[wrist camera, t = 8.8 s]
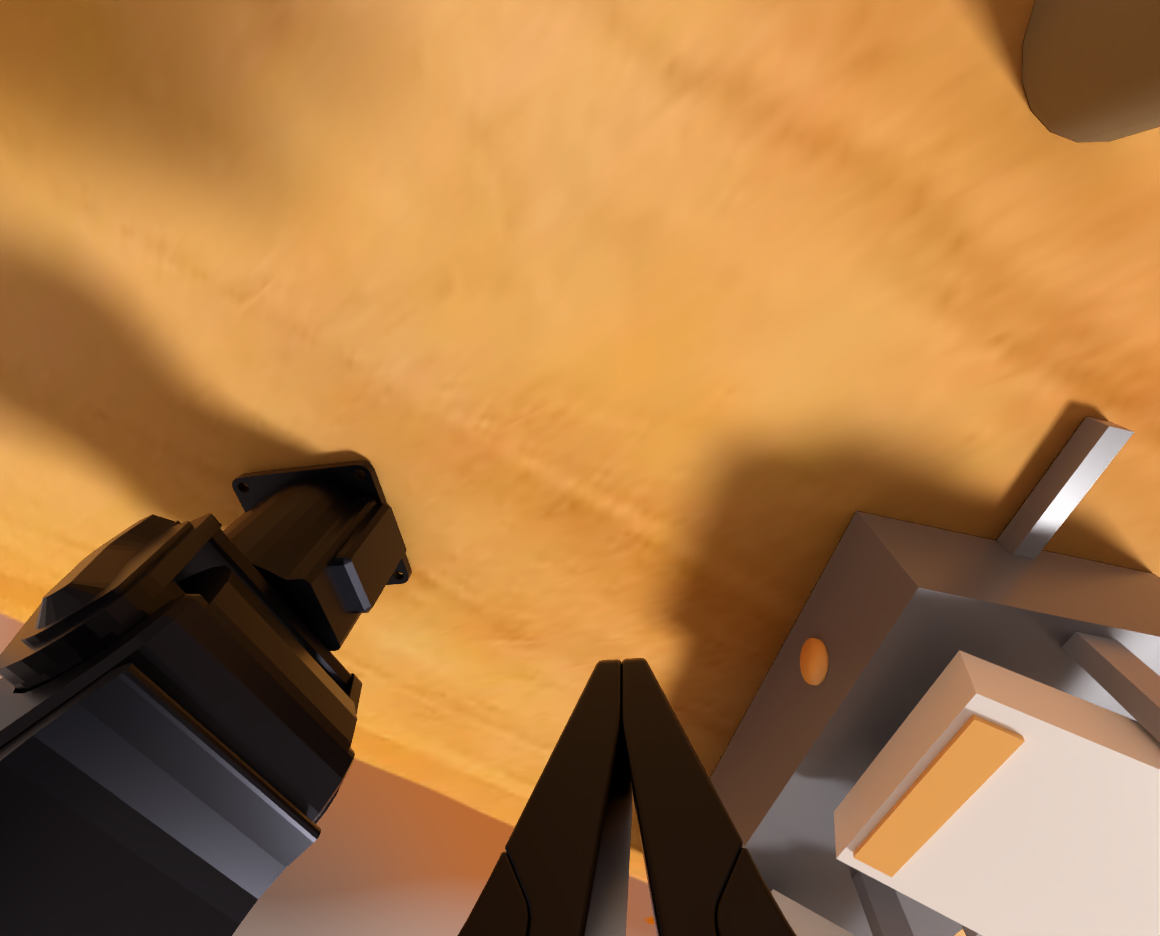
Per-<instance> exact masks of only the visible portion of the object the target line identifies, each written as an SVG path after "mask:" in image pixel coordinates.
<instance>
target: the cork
mask: <svg viewBox="0 0 1160 936" xmlns="http://www.w3.org/2000/svg"><path fill="white" fill-rule="evenodd" d="M1022 83H1023V86H1024V89H1025V92H1026V95H1027V99H1028V102H1029V105H1030V108H1031V111H1032V112H1033V113H1034V114H1035V116H1036V117H1037V118H1038V119H1039V120H1040V121H1041V122H1042V123H1043V124H1044V125H1045V127H1046V128H1047V129H1048V130H1049V131H1050V132H1052V133H1054V134H1057V135H1059V136H1062V137H1064V138H1067V139H1070V140H1072V141H1075V142H1109V141H1113V140H1116V139H1120V138H1123V137H1126V136H1130V135H1133V134H1137V133H1140V132H1143V131H1147V130H1150V129H1154V128H1157V127H1160V0H1036V1H1035V4H1034V7H1033V11H1032V14H1031V18H1030V21H1029V24H1028V28H1027V31H1026V34H1025V38H1024V41H1023V60H1022Z"/></svg>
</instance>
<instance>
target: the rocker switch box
mask: <svg viewBox="0 0 1160 936" xmlns="http://www.w3.org/2000/svg"><path fill="white" fill-rule="evenodd" d="M1133 433H1134V432H1133V431H1131V430H1128V429H1126V428H1124V427H1121V426H1119V425H1117V424H1114V423H1112V422H1109V421H1104V420H1100V419H1095V418H1091V417H1087V416H1086V418H1085V419H1084V421H1083V422H1082V423H1081V425H1080V426H1079V427H1078V429H1077V430H1076V432H1075V433H1074V434H1073V436H1072V437H1071V439H1070V440H1069V441H1068V443H1067V444H1066V445H1065V447H1064V448H1063V450H1062V451H1061V452H1060V454H1059V455H1058V456H1057V458H1056V459H1055V461H1054V462H1053V463H1052V465H1051V466H1050V468H1049V469H1048V470H1047V472H1046V473H1045V474H1044V476H1043V477H1042V479H1041V480H1040V481H1039V483H1038V484H1037V485H1036V487H1035V488H1034V490H1033V491H1032V492H1031V494H1030V495H1029V497H1028V498H1027V499H1026V501H1025V502H1024V503H1023V505H1022V506H1021V508H1020V509H1019V510H1018V512H1017V513H1016V514H1015V516H1014V517H1013V519H1012V520H1011V521H1010V523H1009V524H1008V526H1007V527H1006V528H1005V530H1004V531H1003V532H1002V534H1001V535H1000V537H999V538H998V539H997V541H996V540H991V539H987V538H982V537H977V536H972V535H968V534H963V533H958V532H954V531H949V530H944V529H939V528H935V527H930V526H925V525H920V524H916V523H911V522H906V521H901V520H897V519H892V518H887V517H882V516H878V515H873V514H868V513H863V512H859V511H856V513H855V514H854V516H853V518H852V520H851V522H850V523H849V525H848V527H847V529H846V531H845V533H844V534H843V536H842V538H841V540H840V542H839V544H838V545H837V547H836V549H835V551H834V553H833V555H832V556H831V558H830V560H829V562H828V564H827V566H826V567H825V569H824V571H823V573H822V575H821V576H820V578H819V580H818V582H817V584H816V586H815V587H814V589H813V591H812V593H811V595H810V597H809V598H808V600H807V602H806V604H805V606H804V608H803V609H802V611H801V613H800V615H799V617H798V618H797V620H796V622H795V624H794V626H793V628H792V629H791V631H790V633H789V635H788V637H787V639H786V640H785V642H784V644H783V646H782V648H781V650H780V651H779V653H778V655H777V657H776V659H775V661H774V662H773V664H772V666H771V668H770V670H769V671H768V673H767V675H766V677H765V679H764V681H763V682H762V684H761V686H760V688H759V690H758V692H757V693H756V695H755V697H754V699H753V701H752V703H751V704H750V706H749V708H748V710H747V712H746V713H745V715H744V717H743V719H742V721H741V723H740V724H739V726H738V728H737V730H736V732H735V734H734V735H733V737H732V739H731V741H730V743H729V745H728V746H727V748H726V750H725V752H724V754H723V756H722V757H721V759H720V761H719V763H718V765H717V766H716V768H715V770H714V772H713V774H712V776H711V777H710V781H711V782H712V784H713V786H714V788H715V790H716V792H717V794H718V796H719V797H720V799H721V801H722V803H723V805H724V807H725V809H726V810H727V812H728V814H729V816H730V818H731V820H732V822H733V824H734V825H735V827H736V829H737V831H738V833H739V835H740V837H741V839H742V840H743V843H744V848H747V849H748V851H749V853H750V855H751V857H752V859H753V860H754V862H755V864H756V866H757V868H758V870H759V872H760V874H761V875H762V877H763V879H764V881H765V883H766V884H767V886H768V888H769V890H770V891H772V890H773V889H774V890H776V891H777V892H779V893H781V894H783V895H784V896H786V897H788V898H790V899H791V900H793V901H795V902H797V903H799V904H800V905H802V906H804V907H806V908H807V909H809V910H811V911H813V912H814V913H816V914H818V915H820V916H822V917H823V918H825V919H827V920H829V921H830V922H832V923H834V924H836V925H837V926H839V927H841V928H843V929H844V930H846V931H848V932H850V933H852V934H853V935H855V936H954V935H955V934H956V933H958V932H959V931H960V930H961V929H963V930H964V932H965V934H966V936H982V935H980V934H979V933H977V932H975V931H973V930H971V929H969V928H967V927H965V926H963V925H961V924H959V923H958V922H956V921H954V920H952V919H950V918H948V917H946V916H944V915H942V914H940V913H939V912H937V911H935V910H933V909H931V908H929V907H927V906H925V905H923V904H921V903H920V902H918V901H916V900H914V899H912V898H910V897H908V896H906V895H904V894H902V893H900V892H899V891H897V890H895V889H893V888H891V887H889V886H887V885H885V884H883V883H881V882H880V881H878V880H876V879H874V878H872V877H870V876H868V875H866V874H864V873H862V872H861V871H859V870H857V869H855V868H853V867H851V866H849V865H847V864H845V863H843V862H841V861H840V860H838V859H836V845H835V827H834V811H835V809H836V808H837V807H838V806H839V804H840V803H841V802H842V800H843V799H844V798H845V797H846V795H847V794H848V793H849V791H850V790H851V789H852V788H853V786H854V785H855V784H856V782H857V781H858V780H859V779H860V777H861V776H862V775H863V773H864V772H865V771H866V770H867V768H868V767H869V766H870V764H871V763H872V762H873V761H874V759H875V758H876V757H877V755H878V754H879V753H880V752H881V750H882V749H883V748H884V746H885V745H886V744H887V743H888V741H889V740H890V739H891V737H892V736H893V735H894V734H895V732H896V731H897V730H898V728H899V727H900V726H901V725H902V723H903V722H904V721H905V719H906V718H907V717H908V716H909V714H910V713H911V712H912V710H913V709H914V708H915V707H916V705H917V704H918V703H919V701H920V700H921V699H922V698H923V696H924V695H925V694H926V693H927V691H928V690H929V689H930V687H931V686H932V685H933V684H934V682H935V681H936V680H937V678H938V677H939V676H940V675H941V673H942V672H943V671H944V669H945V668H946V667H947V666H948V664H949V663H950V662H951V660H952V659H953V658H954V657H955V655H956V654H957V653H958V651H959V650H960V651H963V652H965V653H968V654H970V655H973V656H975V657H978V658H980V659H983V660H985V661H988V662H990V663H993V664H995V665H998V666H1000V667H1003V668H1005V669H1008V670H1010V671H1013V672H1015V673H1018V674H1020V675H1023V676H1025V677H1028V678H1030V679H1033V680H1035V681H1038V682H1040V683H1043V684H1045V685H1048V686H1050V687H1053V688H1055V689H1058V690H1060V691H1063V692H1065V693H1068V694H1070V695H1073V696H1075V697H1078V698H1080V699H1083V700H1085V701H1088V702H1090V703H1093V704H1095V705H1098V706H1100V707H1103V708H1105V709H1108V710H1110V711H1113V712H1115V713H1118V714H1120V715H1123V716H1125V717H1128V718H1130V719H1133V720H1135V721H1138V722H1139V723H1140V724H1141V725H1142V726H1143V727H1144V728H1145V729H1146V730H1147V731H1148V732H1149V733H1150V734H1151V735H1152V736H1153V737H1154V738H1155V739H1156V740H1157V741H1158V742H1159V743H1160V578H1159V577H1158V576H1156V575H1155V574H1153V573H1148V572H1143V571H1138V570H1134V569H1129V568H1124V567H1119V566H1115V565H1110V564H1105V563H1100V562H1096V561H1091V560H1086V559H1081V558H1077V557H1072V556H1067V555H1063V554H1058V553H1053V552H1048V551H1044V550H1042V549H1043V548H1044V547H1045V545H1046V544H1047V543H1048V541H1049V540H1050V539H1051V538H1052V536H1053V535H1054V534H1055V532H1056V531H1057V530H1058V529H1059V527H1060V526H1061V525H1062V524H1063V522H1064V521H1065V520H1066V518H1067V517H1068V516H1069V515H1070V513H1071V512H1072V511H1073V510H1074V508H1075V507H1076V506H1077V504H1078V503H1079V502H1080V501H1081V499H1082V498H1083V497H1084V495H1085V494H1086V493H1087V492H1088V490H1089V489H1090V488H1091V487H1092V485H1093V484H1094V483H1095V481H1096V480H1097V479H1098V478H1099V476H1100V475H1101V474H1102V473H1103V471H1104V470H1105V469H1106V467H1107V466H1108V465H1109V464H1110V462H1111V461H1112V460H1113V458H1114V457H1115V456H1116V455H1117V453H1118V452H1119V451H1120V450H1121V448H1122V447H1123V446H1124V444H1125V443H1126V442H1127V441H1128V439H1129V438H1130V437H1131V435H1132V434H1133Z"/></svg>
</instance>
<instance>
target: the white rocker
mask: <svg viewBox="0 0 1160 936" xmlns="http://www.w3.org/2000/svg"><path fill="white" fill-rule="evenodd" d="M771 893H772V895H773V897H774V898H775V900H776V902H777V904H778V905H779V907H780V909H781V911H782V912H783V914H784V916H785V918H786V919H787V921H788V923H789V924H790V926H791V927H792V929H793V930H794V932H795V934H796V935H797V936H855V935H853V934H852V933H850V932H848V931H846V930H844V929H843V928H841V927H839V926H837V925H836V924H834V923H832V922H830V921H829V920H827V919H825V918H823V917H822V916H820V915H818V914H816V913H814V912H813V911H811V910H809V909H807V908H806V907H804V906H802V905H800V904H799V903H797V902H795V901H793V900H791V899H790V898H788V897H786V896H784V895H783V894H781V893H779V892H777V891H776V890H774V889H773V890H772V891H771Z"/></svg>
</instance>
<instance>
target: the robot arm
mask: <svg viewBox="0 0 1160 936" xmlns="http://www.w3.org/2000/svg"><path fill="white" fill-rule="evenodd" d="M358 470H362V471H363V472H364V473H365V474H366V476H363V475H361V474H360V473H359V472H358ZM244 483H245V484H247V485H248V487H249V488H248V487H246V486H245V484H244ZM232 486H233V489H234V491H235V493H236V495H237V497H238V499H239V501H240V503H241V505H242V506H243V508H244V510H245V513H244V514H243V515H242V516H241V517H239V518H238V519H237V520H236V521H235V522H233V523H232V524H231V525H230V526H229V527H227V528H226V529H225V530H224V531H222V530H221V529H220V528H221V526H222V525H221V524H220V523H219V522H218V520H217V519H216V518H215V517H214V516H213V515H212V514H211V513H210V514H207V515H205V516H203V517H200V518H198V519H196V520H193V521H191V522H189V521H187V522H184V523H180V522H179V521H176V522H174V521H171V520H168V519H165V518H162V517H159V516H155V515H151V516H148V517H146V518H144V519H142V520H140V521H138V522H137V523H135V524H134V525H132V526H130V527H129V528H127V529H126V530H124V531H123V532H121V533H120V534H118V535H117V536H115V537H114V538H112V539H111V540H109V541H108V542H106V543H105V544H103V545H102V546H101V547H99V548H98V549H96V550H95V551H94V552H92V553H91V554H90V555H88V556H87V557H86V558H85V559H84V560H82V561H81V562H80V563H79V564H78V565H77V566H76V567H75V568H74V569H73V570H72V571H71V572H70V573H68V574H67V575H66V576H65V577H64V578H63V579H62V580H61V581H60V582H59V583H58V584H57V585H56V586H55V587H54V588H53V589H51V590H50V591H49V592H48V593H47V594H46V595H45V596H44V597H43V600H42V603H41V604H40V605H39V607H38V608H37V609H36V611H35V612H34V613H33V614H32V616H31V617H30V618H29V619H28V621H27V622H26V623H25V624H24V626H23V627H22V628H21V629H20V631H19V632H18V633H17V634H16V636H15V637H14V638H13V640H12V641H11V642H10V643H9V645H8V646H7V647H6V648H5V650H4V651H3V652H2V653H1V655H0V675H1V676H2V677H3V678H1V679H0V936H232V935H233V933H234V932H235V930H236V929H237V927H238V926H239V924H240V923H241V921H242V920H243V919H244V918H245V916H246V915H247V914H248V912H249V911H250V910H251V908H252V907H253V905H254V904H255V903H256V901H257V900H258V899H259V897H261V895H262V894H263V893H264V892H265V891H266V890H267V888H268V887H269V886H270V885H271V884H272V883H273V882H274V880H275V879H276V878H277V877H278V876H279V875H280V874H281V873H282V871H283V870H284V869H285V868H286V867H287V866H288V865H289V864H290V863H292V862H293V861H294V860H295V859H296V858H297V857H298V856H299V855H300V854H301V853H302V852H304V851H305V850H306V849H307V848H308V847H309V846H310V845H311V844H313V842H315V840H317V838H318V837H319V835H320V833H321V829H320V828H319V827H318V826H317V825H316V823H317V822H318V820H319V819H320V818H321V817H322V815H323V814H324V813H325V812H326V810H327V809H328V807H329V806H330V804H331V803H332V801H333V799H334V798H335V796H336V794H337V792H338V790H339V788H340V786H341V784H342V783H343V781H344V778H345V777H346V775H347V773H348V771H349V769H350V767H351V765H352V762H353V759H354V755H355V753H354V751H353V750H352V749H351V748H350V747H351V743H352V738H353V734H354V730H355V726H356V721H357V716H356V714H357V709H358V703H359V698H360V693H361V687H362V682H361V681H360V680H359V679H358V678H357V677H356V676H355V674H353V673H351V674H350V673H349V672H348V671H347V670H346V669H345V667H344V666H343V665H342V664H341V663H340V662H339V661H338V660H337V659H336V657H335V656H334V655H333V654H332V653H331V652H330V651H336V650H339V649H340V647H341V646H342V644H343V642H344V641H345V639H346V637H347V636H348V634H349V633H350V631H351V629H352V628H353V626H354V624H355V623H356V621H357V620H358V618H359V616H360V615H361V613H368V612H369V611H370V610H371V608H372V607H373V606H374V604H375V602H376V601H377V599H378V597H379V596H380V594H381V592H382V591H383V589H384V587H385V586H386V585H392V584H402V583H406V582H407V581H408V579H409V577H410V576H411V573H412V571H411V567H410V564H409V562H408V559H407V556H406V554H405V552H406V547H405V544H404V541H403V539H402V536H401V533H400V531H399V528H398V525H397V522H396V520H395V517H394V514H393V511H392V509H391V507H390V506H389V505H388V504H387V502H386V499H385V496H384V494H383V491H382V488H381V486H380V483H379V480H378V477H377V475H376V472H375V469H374V468H373V466H372V465H371V464H370V463H368V462H366V461H352V462H343V463H334V464H326V465H317V466H308V467H299V468H290V469H281V470H272V471H263V472H254V473H245V474H242V475H240V476H239V477H237V478H236V479H235V480H234V481H233V483H232ZM397 571H399V572H401V573H402V574H399V573H398V572H397ZM632 790H633V797H634V803H635V809H636V815H637V821H638V827H639V833H640V839H641V845H642V851H643V857H644V863H645V868H646V874H647V880H648V886H649V892H650V898H651V904H652V909H653V916H654V922H655V927H656V933H657V936H797V935H796V934H795V932H794V930H793V929H792V927H791V926H790V924H789V923H788V921H787V919H786V918H785V916H784V914H783V912H782V911H781V909H780V907H779V905H778V904H777V902H776V900H775V898H774V897H773V895H772V893H771V891H770V890H769V888H768V886H767V884H766V883H765V881H764V879H763V877H762V875H761V874H760V872H759V870H758V868H757V866H756V864H755V862H754V860H753V859H752V857H751V855H750V853H749V851H748V849H747V848H744V843H743V840H742V839H741V837H740V835H739V833H738V831H737V829H736V827H735V825H734V824H733V822H732V820H731V818H730V816H729V814H728V812H727V810H726V809H725V807H724V805H723V803H722V801H721V799H720V797H719V796H718V794H717V792H716V790H715V788H714V786H713V784H712V782H711V781H710V779H709V777H708V775H707V773H706V771H705V769H704V767H703V766H702V764H701V762H700V760H699V758H698V756H697V754H696V752H695V751H694V749H693V747H692V745H691V743H690V741H689V739H688V737H687V736H686V734H685V732H684V730H683V728H682V726H681V724H680V722H679V721H678V719H677V717H676V715H675V713H674V711H673V709H672V707H671V706H670V704H669V702H668V700H667V698H666V696H665V694H664V692H663V691H662V689H661V687H660V685H659V683H658V681H657V679H656V677H655V676H654V674H653V672H652V670H651V668H650V666H649V664H648V663H647V661H646V660H645V659H644V658H633V659H624V660H623V662H621V661H620V660H617V659H616V660H602V661H599V662H598V663H597V664H596V666H595V668H594V670H593V672H592V674H591V676H590V678H589V680H588V682H587V684H586V686H585V688H584V690H583V692H582V694H581V696H580V698H579V700H578V702H577V704H576V706H575V708H574V710H573V712H572V714H571V716H570V718H569V720H568V722H567V724H566V726H565V728H564V730H563V732H562V734H561V736H560V738H559V740H558V742H557V744H556V746H555V748H554V750H553V752H552V754H551V756H550V758H549V760H548V762H547V764H546V766H545V768H544V770H543V772H542V774H541V776H540V778H539V780H538V782H537V784H536V786H535V788H534V790H533V792H532V794H531V796H530V798H529V800H528V802H527V804H526V806H525V808H524V810H523V812H522V814H521V816H520V818H519V820H518V822H517V824H516V826H515V828H514V830H513V832H512V834H511V836H510V838H509V840H508V842H507V844H506V846H505V849H506V852H507V853H506V852H502V854H501V856H500V858H499V860H498V861H497V864H496V865H495V867H494V869H493V872H492V874H491V876H490V878H489V879H488V881H487V883H486V885H485V887H484V889H483V891H482V893H481V895H480V896H479V898H478V900H477V902H476V904H475V906H474V908H473V909H472V912H471V913H470V915H469V917H468V919H467V921H466V922H465V924H464V926H463V927H462V929H461V931H460V932H459V934H458V936H626V919H627V899H628V879H629V860H630V840H631V821H632Z"/></svg>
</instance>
